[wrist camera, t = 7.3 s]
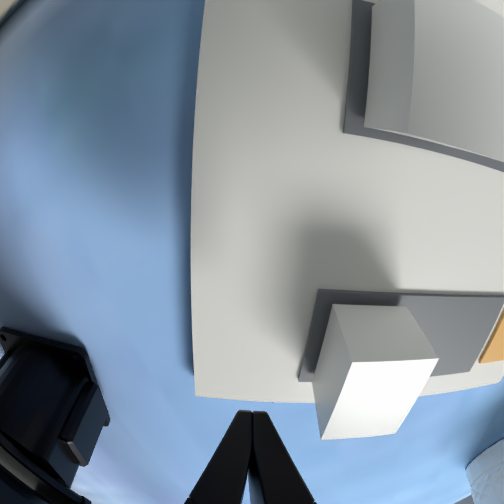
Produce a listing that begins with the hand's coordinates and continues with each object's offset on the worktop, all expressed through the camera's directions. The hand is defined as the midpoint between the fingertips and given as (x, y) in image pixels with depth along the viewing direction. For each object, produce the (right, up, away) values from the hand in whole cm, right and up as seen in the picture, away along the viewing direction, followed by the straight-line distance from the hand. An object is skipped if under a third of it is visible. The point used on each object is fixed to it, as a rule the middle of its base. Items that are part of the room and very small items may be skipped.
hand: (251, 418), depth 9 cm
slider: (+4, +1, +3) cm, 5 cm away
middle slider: (+5, +10, -1) cm, 11 cm away
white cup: (+25, -16, +12) cm, 33 cm away
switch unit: (+7, +11, +1) cm, 13 cm away
